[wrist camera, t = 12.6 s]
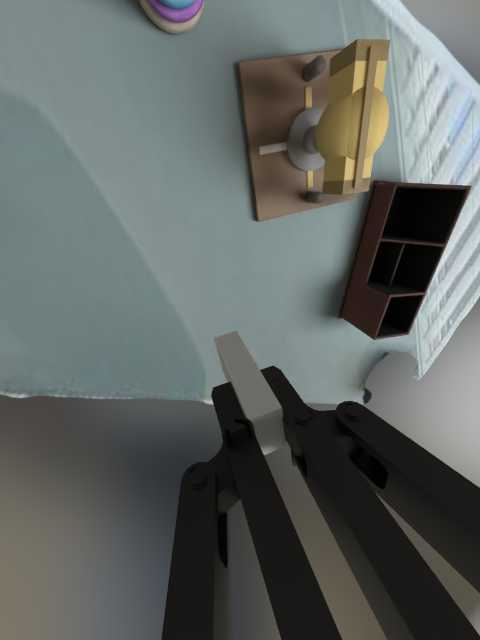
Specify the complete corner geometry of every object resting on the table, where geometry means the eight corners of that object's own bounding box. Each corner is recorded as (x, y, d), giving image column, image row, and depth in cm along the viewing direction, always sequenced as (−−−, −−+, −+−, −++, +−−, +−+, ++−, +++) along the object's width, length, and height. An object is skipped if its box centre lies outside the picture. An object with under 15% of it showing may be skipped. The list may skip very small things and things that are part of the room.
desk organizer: (336, 318, 60) (371, 342, 51) (372, 180, 47) (428, 177, 37) (371, 314, 63) (410, 336, 54) (414, 183, 50) (475, 182, 40)
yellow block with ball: (354, 189, 37) (379, 189, 33) (313, 195, 36) (334, 196, 32) (369, 58, 30) (403, 38, 26) (319, 58, 29) (347, 37, 25)
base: (237, 65, 33) (259, 32, 26) (363, 50, 37) (412, 18, 30) (256, 221, 43) (276, 227, 36) (354, 197, 47) (389, 199, 40)
